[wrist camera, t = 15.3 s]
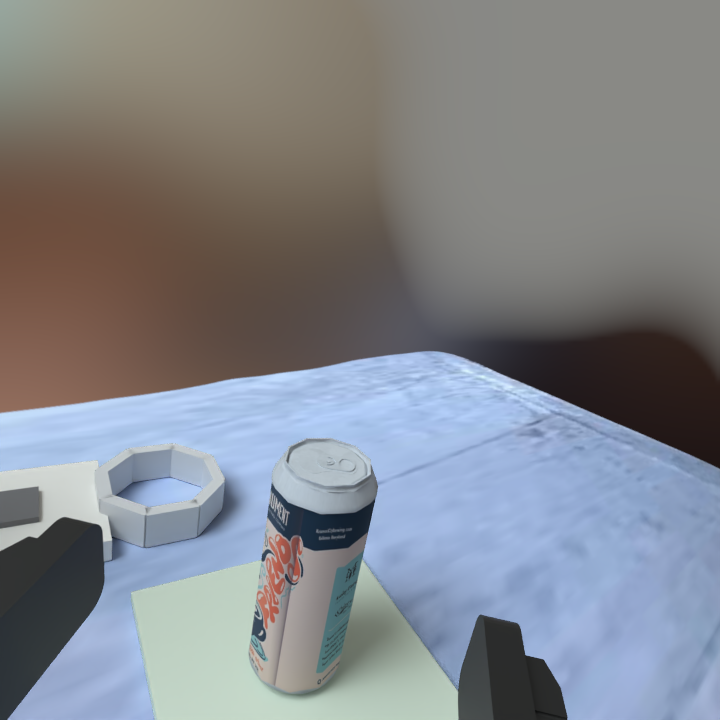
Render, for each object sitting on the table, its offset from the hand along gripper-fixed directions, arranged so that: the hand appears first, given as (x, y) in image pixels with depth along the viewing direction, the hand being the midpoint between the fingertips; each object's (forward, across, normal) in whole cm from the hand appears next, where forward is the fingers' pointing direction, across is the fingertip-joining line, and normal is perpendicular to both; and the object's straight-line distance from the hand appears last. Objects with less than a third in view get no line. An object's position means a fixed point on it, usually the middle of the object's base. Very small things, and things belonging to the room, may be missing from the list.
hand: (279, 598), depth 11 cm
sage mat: (+11, +1, +17) cm, 20 cm away
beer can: (+11, +1, +16) cm, 20 cm away
